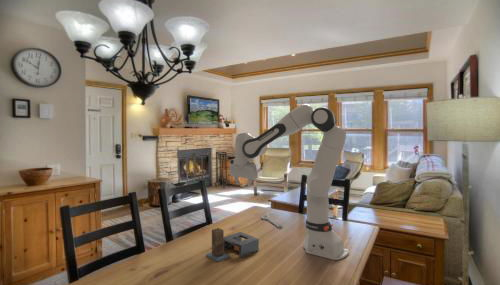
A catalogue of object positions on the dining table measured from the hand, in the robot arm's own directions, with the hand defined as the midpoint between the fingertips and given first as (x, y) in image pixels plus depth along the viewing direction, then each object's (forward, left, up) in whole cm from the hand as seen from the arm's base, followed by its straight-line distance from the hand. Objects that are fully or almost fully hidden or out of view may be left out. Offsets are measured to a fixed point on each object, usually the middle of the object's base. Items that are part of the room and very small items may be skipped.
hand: (243, 185), depth 163 cm
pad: (-12, +28, -29) cm, 42 cm away
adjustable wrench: (+4, -28, -30) cm, 41 cm away
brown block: (-12, +28, -28) cm, 41 cm away
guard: (-14, +15, -29) cm, 36 cm away
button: (-14, +15, -29) cm, 35 cm away
